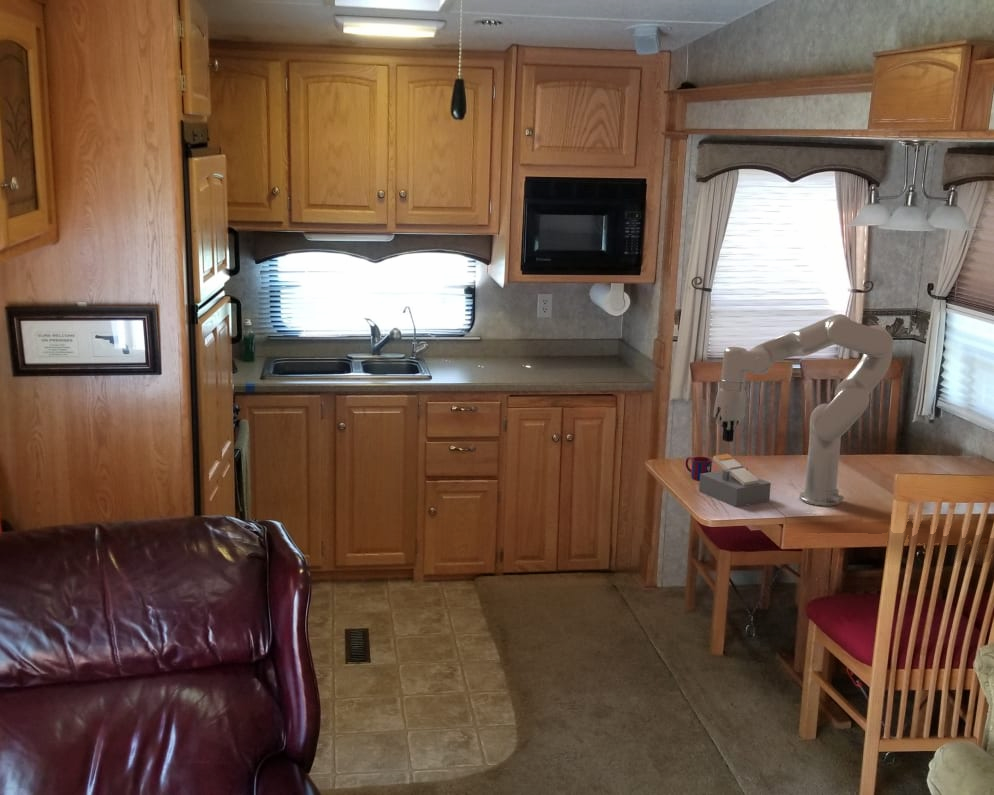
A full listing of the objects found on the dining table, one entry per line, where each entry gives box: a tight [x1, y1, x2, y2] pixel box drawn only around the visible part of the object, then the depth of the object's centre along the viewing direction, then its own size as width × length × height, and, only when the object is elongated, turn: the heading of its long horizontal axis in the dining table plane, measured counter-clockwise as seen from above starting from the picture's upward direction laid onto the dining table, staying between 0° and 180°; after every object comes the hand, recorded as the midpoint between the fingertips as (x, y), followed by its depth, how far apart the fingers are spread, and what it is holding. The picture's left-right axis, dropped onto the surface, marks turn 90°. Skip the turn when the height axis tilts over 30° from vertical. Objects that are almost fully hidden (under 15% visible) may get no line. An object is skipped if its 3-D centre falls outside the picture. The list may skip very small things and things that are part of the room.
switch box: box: [698, 466, 772, 508], centre depth 333 cm, size 18×14×9 cm
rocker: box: [712, 453, 759, 486], centre depth 332 cm, size 16×6×2 cm, turn 29°
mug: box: [685, 456, 713, 482], centre depth 353 cm, size 7×10×7 cm
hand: (727, 440), depth 333 cm, fingers closed
